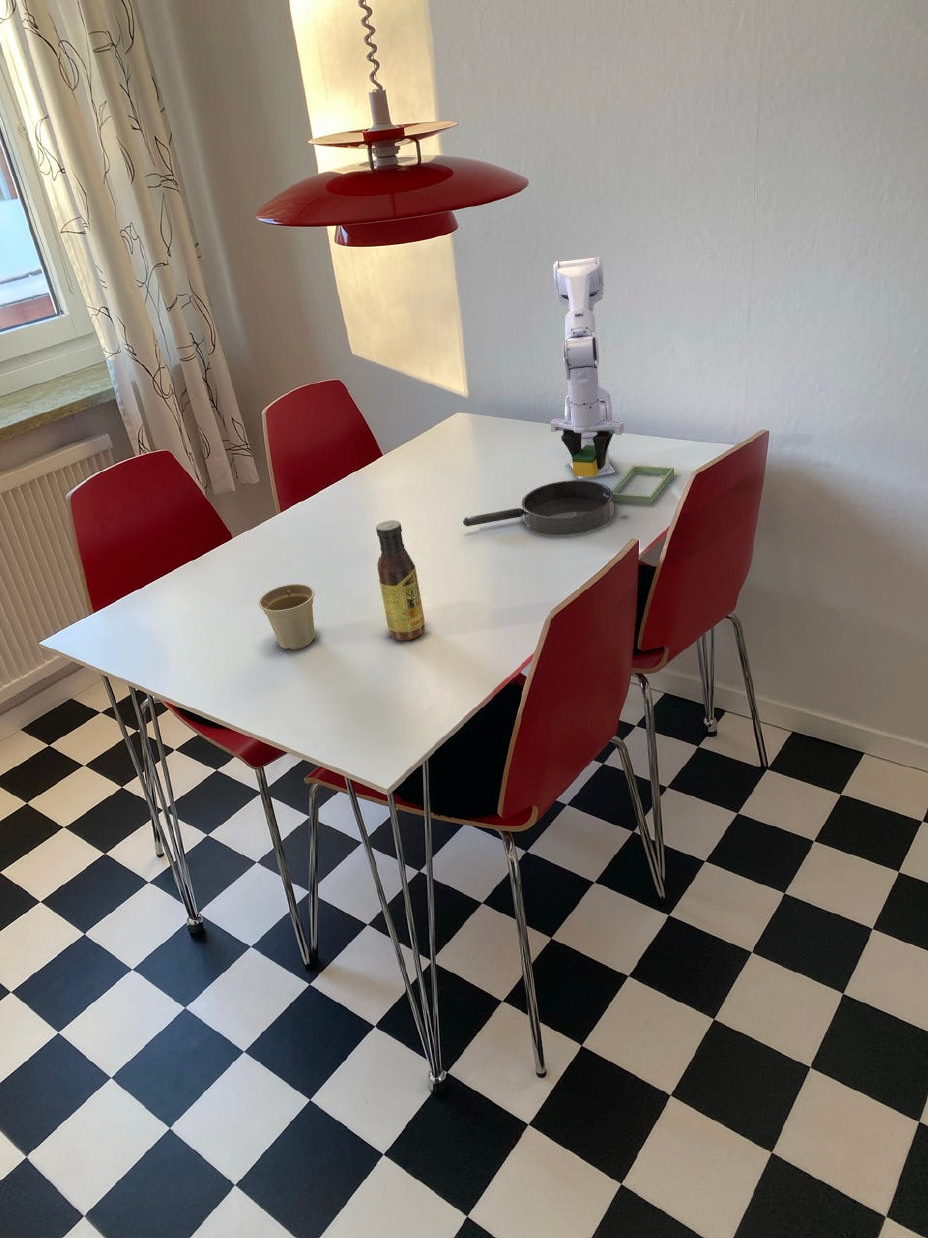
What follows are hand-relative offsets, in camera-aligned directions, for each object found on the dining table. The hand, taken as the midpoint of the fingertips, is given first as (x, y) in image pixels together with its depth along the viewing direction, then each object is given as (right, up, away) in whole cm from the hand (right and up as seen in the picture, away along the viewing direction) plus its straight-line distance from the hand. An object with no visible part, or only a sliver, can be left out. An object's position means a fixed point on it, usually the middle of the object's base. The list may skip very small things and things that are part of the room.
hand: (589, 466), depth 195 cm
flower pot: (-53, -34, -26) cm, 68 cm away
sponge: (0, -1, 0) cm, 1 cm away
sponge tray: (+12, -3, +9) cm, 15 cm away
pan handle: (-19, -11, +1) cm, 22 cm away
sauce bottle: (-34, -33, -29) cm, 55 cm away
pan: (-4, -10, +2) cm, 11 cm away
